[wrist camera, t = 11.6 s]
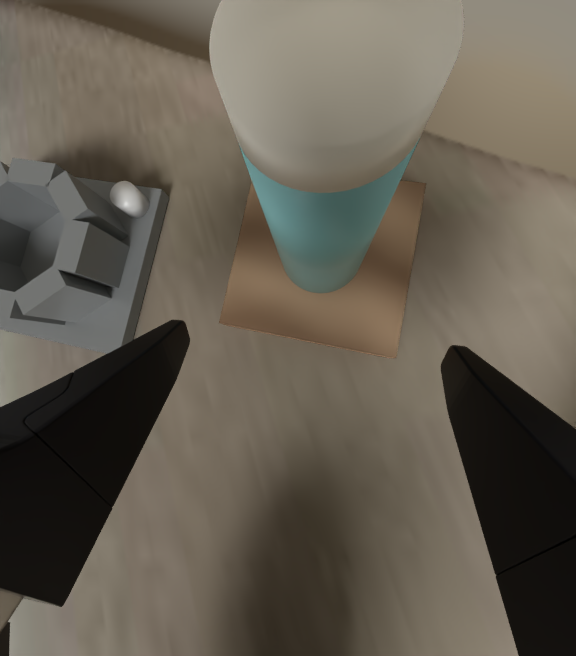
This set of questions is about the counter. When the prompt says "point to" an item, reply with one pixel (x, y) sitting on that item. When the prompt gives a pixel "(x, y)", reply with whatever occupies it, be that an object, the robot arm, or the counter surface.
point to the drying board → (334, 307)
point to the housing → (74, 254)
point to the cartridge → (330, 114)
